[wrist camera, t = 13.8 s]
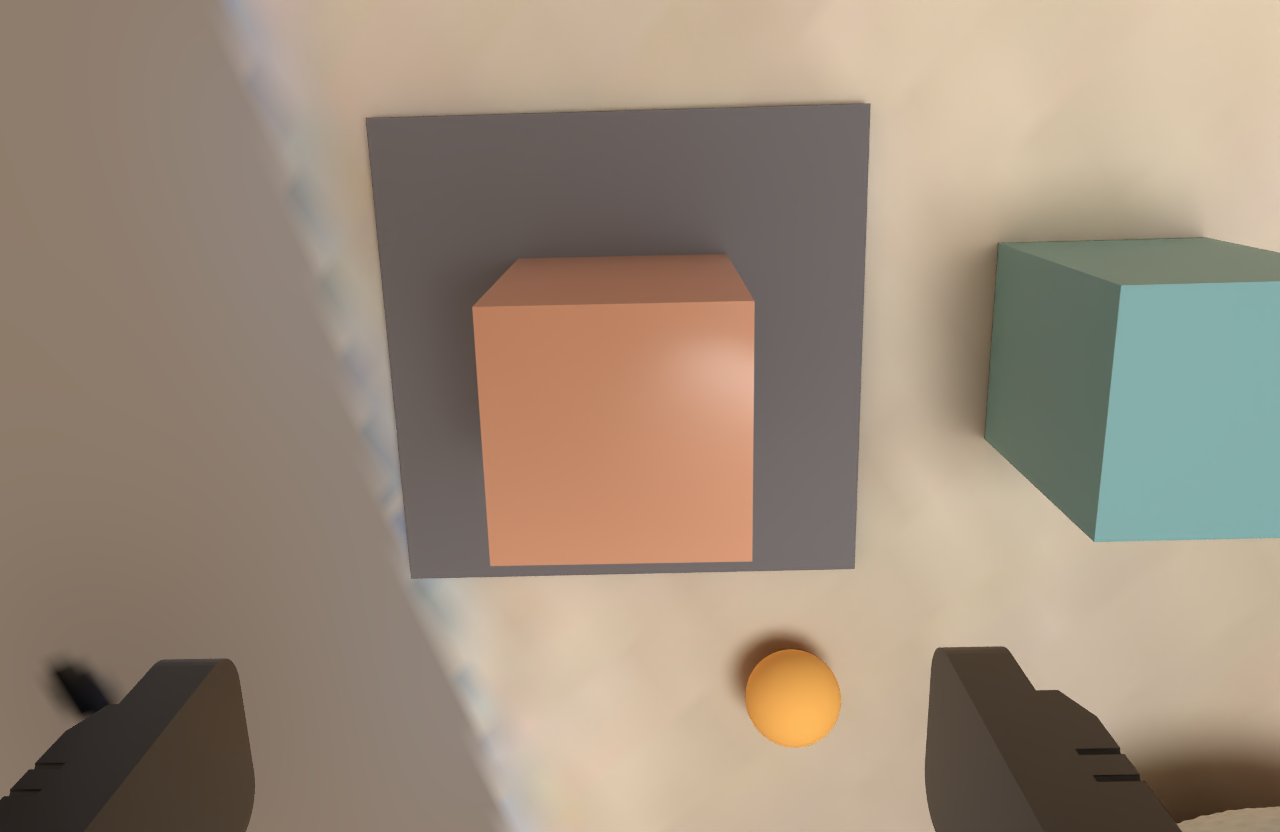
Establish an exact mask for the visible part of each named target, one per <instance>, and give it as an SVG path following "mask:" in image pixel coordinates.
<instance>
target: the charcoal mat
mask: <svg viewBox="0 0 1280 832" xmlns="http://www.w3.org/2000/svg"><path fill="white" fill-rule="evenodd" d="M366 126H367V136H368V146H369V156H370V166H371V176H372V186H373V196H374V207H375V217H376V227H377V237H378V247H379V257H380V267H381V277H382V287H383V298H384V308H385V318H386V328H387V338H388V348H389V358H390V368H391V378H392V389H393V399H394V409H395V419H396V429H397V439H398V449H399V459H400V469H401V480H402V490H403V500H404V510H405V520H406V530H407V540H408V550H409V560H410V571H411V579H417V578H462V577H508V576H553V575H599V574H645V573H690V572H736V571H781V570H827V569H854V568H855V539H856V510H857V481H858V451H859V422H860V393H861V364H862V334H863V305H864V276H865V247H866V217H867V188H868V159H869V130H870V104H836V105H802V106H767V107H733V108H698V109H664V110H629V111H594V112H560V113H525V114H491V115H456V116H422V117H387V118H366ZM695 254H727V255H728V257H729V259H730V260H731V262H732V264H733V265H734V267H735V269H736V271H737V272H738V274H739V276H740V277H741V279H742V281H743V282H744V284H745V286H746V287H747V289H748V291H749V292H750V294H751V296H752V297H753V299H754V301H755V313H754V427H753V541H752V561H749V562H692V563H636V564H579V565H523V566H490V555H489V540H488V526H487V512H486V497H485V483H484V469H483V454H482V440H481V426H480V411H479V397H478V382H477V368H476V354H475V339H474V325H473V311H472V307H473V306H474V305H475V304H476V302H477V301H478V300H479V299H480V298H481V297H482V296H483V295H484V294H485V293H486V292H487V291H488V290H489V289H490V288H491V287H492V286H493V285H494V284H495V283H496V281H497V280H498V279H499V278H500V277H501V276H502V275H503V274H504V273H505V272H506V271H507V270H508V269H509V268H510V267H511V266H512V265H513V264H514V263H515V262H516V261H517V259H518V258H559V257H604V256H650V255H695Z"/></svg>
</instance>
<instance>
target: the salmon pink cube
mask: <svg viewBox="0 0 1280 832" xmlns="http://www.w3.org/2000/svg"><path fill="white" fill-rule="evenodd" d="M472 311H473V325H474V339H475V354H476V368H477V382H478V397H479V411H480V426H481V440H482V454H483V469H484V483H485V497H486V512H487V526H488V540H489V555H490V566H523V565H579V564H636V563H692V562H749V561H752V541H753V427H754V313H755V301H754V299H753V297H752V296H751V294H750V292H749V291H748V289H747V287H746V286H745V284H744V282H743V281H742V279H741V277H740V276H739V274H738V272H737V271H736V269H735V267H734V265H733V264H732V262H731V260H730V259H729V257H728V255H727V254H695V255H650V256H604V257H559V258H518V259H517V261H516V262H515V263H514V264H513V265H512V266H511V267H510V268H509V269H508V270H507V271H506V272H505V273H504V274H503V275H502V276H501V277H500V278H499V279H498V280H497V281H496V283H495V284H494V285H493V286H492V287H491V288H490V289H489V290H488V291H487V292H486V293H485V294H484V295H483V296H482V297H481V298H480V299H479V300H478V301H477V302H476V304H475V305H474V306H473V307H472Z"/></svg>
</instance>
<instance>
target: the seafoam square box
mask: <svg viewBox="0 0 1280 832" xmlns="http://www.w3.org/2000/svg"><path fill="white" fill-rule="evenodd" d="M985 440H986V441H987V442H989V443H990V444H991V445H992V446H993V447H994V448H995V449H996V450H997V451H998V452H999V453H1000V454H1001V455H1002V456H1003V457H1004V458H1006V459H1007V460H1008V461H1009V462H1010V463H1011V464H1012V465H1013V466H1014V467H1015V468H1016V469H1017V470H1018V471H1019V472H1020V473H1021V474H1023V475H1024V476H1025V477H1026V478H1027V479H1028V480H1029V481H1030V482H1031V483H1032V484H1033V485H1034V486H1035V487H1036V488H1037V489H1038V490H1040V491H1041V492H1042V493H1043V494H1044V495H1045V496H1046V497H1047V498H1048V499H1049V500H1050V501H1051V502H1052V503H1053V504H1054V505H1055V506H1057V507H1058V508H1059V509H1060V510H1061V511H1062V512H1063V513H1064V514H1065V515H1066V516H1067V517H1068V518H1069V519H1070V520H1071V521H1072V522H1074V523H1075V524H1076V525H1077V526H1078V527H1079V528H1080V529H1081V530H1082V531H1083V532H1084V533H1085V534H1086V535H1087V536H1088V537H1089V538H1091V539H1092V540H1093V541H1094V542H1116V541H1161V540H1206V539H1251V538H1280V253H1278V252H1273V251H1268V250H1263V249H1258V248H1254V247H1249V246H1244V245H1239V244H1234V243H1229V242H1225V241H1220V240H1215V239H1210V238H1168V239H1131V240H1094V241H1056V242H1019V243H998V256H997V270H996V284H995V298H994V313H993V327H992V341H991V355H990V369H989V384H988V398H987V412H986V426H985Z"/></svg>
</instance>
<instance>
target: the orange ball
mask: <svg viewBox="0 0 1280 832" xmlns="http://www.w3.org/2000/svg"><path fill="white" fill-rule="evenodd" d="M745 698H746V707H747V711H748V714H749V716H750V719H751V720H752V722H753V724H754V726H755V727H756V728H757V730H758V731H759V732H760V733H761V734H762V735H763V736H765V737H766V738H767V739H769V740H771V741H772V742H774V743H776V744H779V745H782V746H786V747H804V746H808V745H811V744H813V743H816V742H817V741H819V740H821V739H822V738H823V737H825V736H826V735H827V734H828V733H829V732H830V730H831V729H832V728H833V726H834V725H835V723H836V721H837V718H838V716H839V712H840V707H841V694H840V689H839V685H838V682H837V680H836V678H835V676H834V674H833V672H832V671H831V669H830V668H829V667H828V666H827V665H826V664H825V663H824V662H823V661H822V660H821V659H819V658H818V657H816V656H815V655H813V654H811V653H808V652H805V651H801V650H795V649H788V650H781V651H777V652H774V653H772V654H770V655H768V656H767V657H765V658H764V659H763V660H762V661H760V662H759V663H758V664H757V665H756V667H755V668H754V669H753V671H752V673H751V675H750V677H749V679H748V682H747V687H746V694H745Z"/></svg>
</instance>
